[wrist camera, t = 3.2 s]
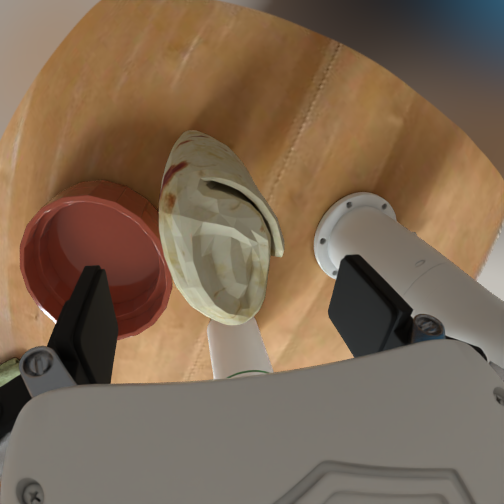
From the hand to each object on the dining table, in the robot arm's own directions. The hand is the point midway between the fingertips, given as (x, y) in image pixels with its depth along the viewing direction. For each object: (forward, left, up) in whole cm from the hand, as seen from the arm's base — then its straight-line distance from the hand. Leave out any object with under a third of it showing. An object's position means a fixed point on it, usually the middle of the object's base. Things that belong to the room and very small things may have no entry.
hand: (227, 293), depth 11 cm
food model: (0, 0, -22) cm, 22 cm away
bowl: (+12, +9, -22) cm, 26 cm away
